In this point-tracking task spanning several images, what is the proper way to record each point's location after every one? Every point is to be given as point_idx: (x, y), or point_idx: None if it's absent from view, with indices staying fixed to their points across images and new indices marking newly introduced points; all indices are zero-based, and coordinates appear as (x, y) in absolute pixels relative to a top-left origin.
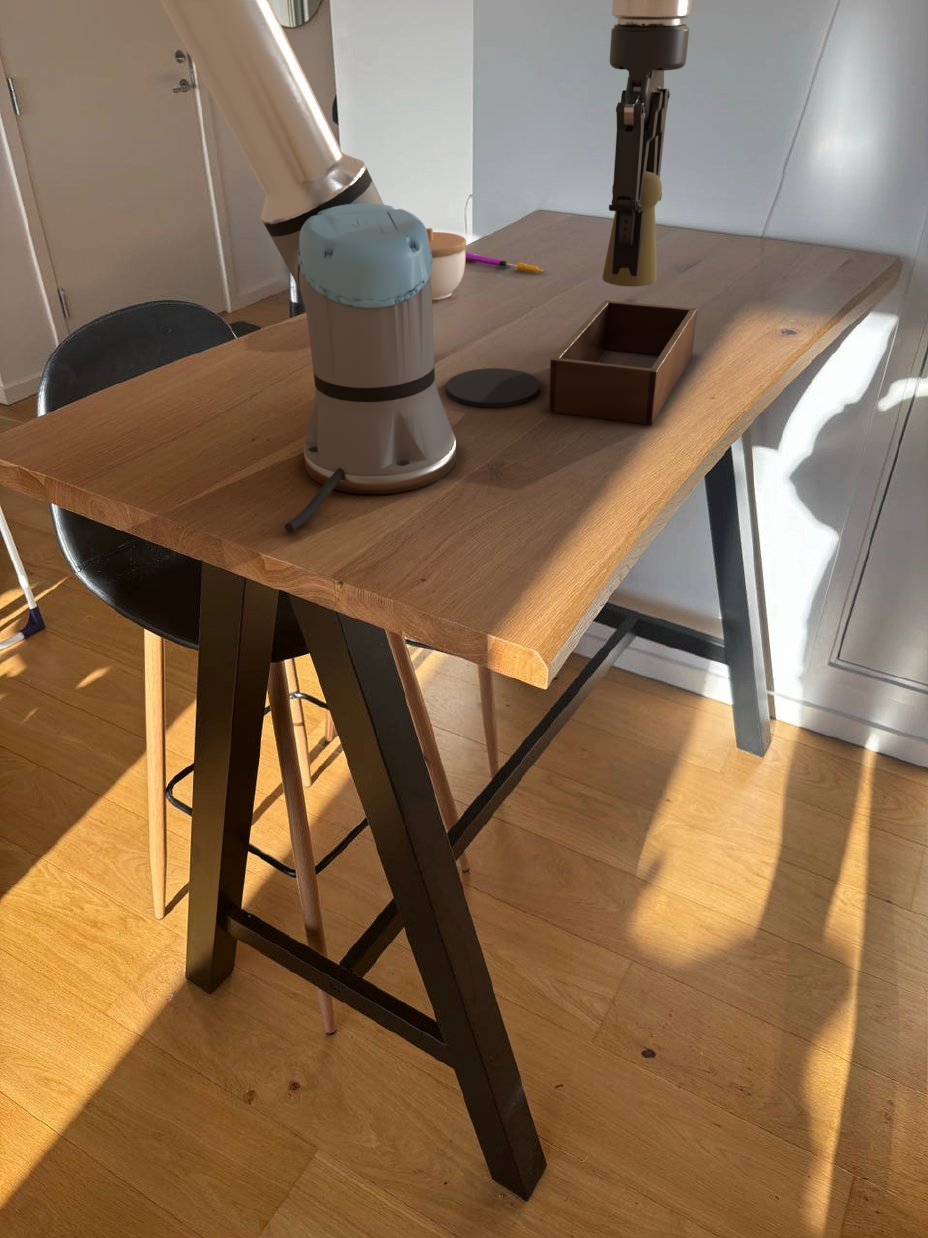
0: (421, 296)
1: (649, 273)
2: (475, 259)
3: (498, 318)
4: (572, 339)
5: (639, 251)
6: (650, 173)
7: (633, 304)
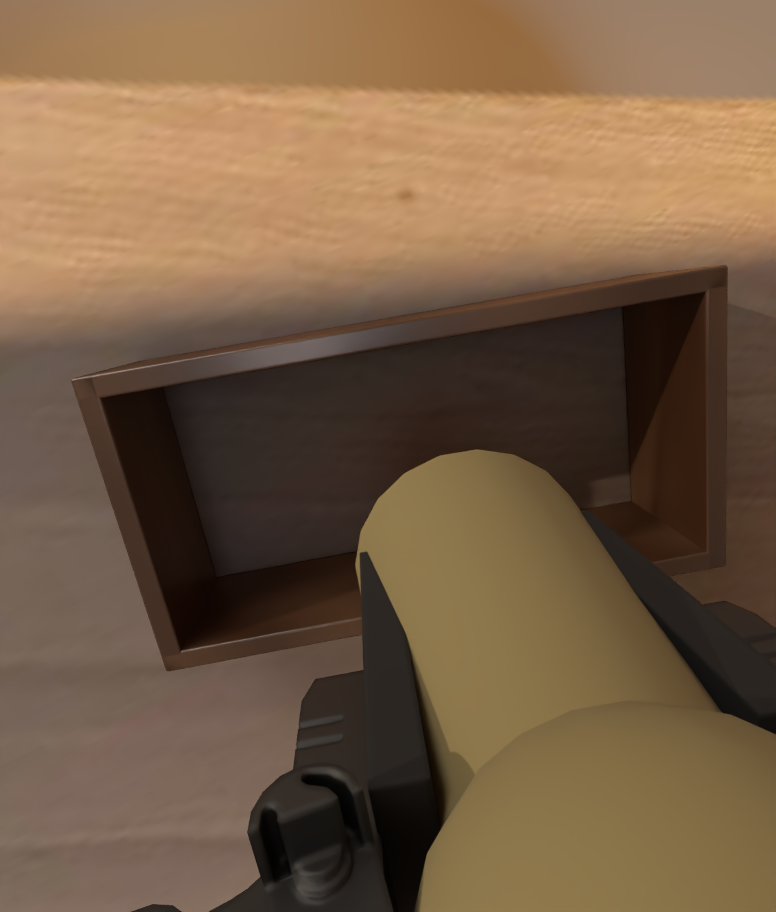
0: None
1: (532, 475)
2: None
3: (158, 870)
4: None
5: (619, 560)
6: None
7: (156, 581)
